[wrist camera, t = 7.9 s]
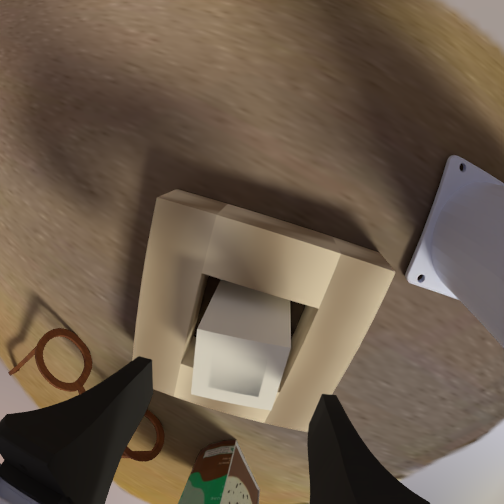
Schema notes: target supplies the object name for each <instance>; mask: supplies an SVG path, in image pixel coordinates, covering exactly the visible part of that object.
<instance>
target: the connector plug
mask: <svg viewBox="0 0 504 504" xmlns="http://www.w3.org/2000/svg"><path fill="white" fill-rule="evenodd" d="M290 349H291V314H290V300H287V299H284V298H281V297H277V296H274V295H271V294H267V293H264V292H261V291H257V290H254V289H251V288H248V287H244V286H241V285H238V284H235V283H232V282H228V281H225V280H222V279H221V280H220V282H219V284H218V286H217V288H216V291H215V293H214V295H213V297H212V299H211V301H210V303H209V305H208V307H207V309H206V311H205V314H204V316H203V318H202V320H201V322H200V324H199V326H198V328H197V336H196V346H195V355H194V366H193V376H192V387H191V394H192V395H196V396H201V397H205V398H209V399H213V400H218V401H222V402H227V403H232V404H237V405H242V406H247V407H253V408H258V409H264V410H270V411H271V410H272V407H273V404H274V401H275V398H276V395H277V391H278V388H279V385H280V382H281V379H282V376H283V372H284V369H285V366H286V363H287V359H288V356H289V353H290Z"/></svg>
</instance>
